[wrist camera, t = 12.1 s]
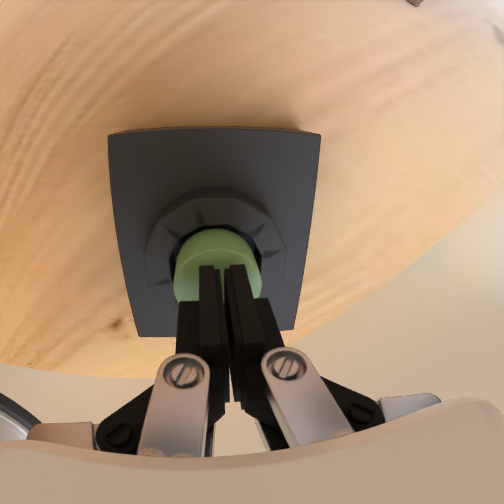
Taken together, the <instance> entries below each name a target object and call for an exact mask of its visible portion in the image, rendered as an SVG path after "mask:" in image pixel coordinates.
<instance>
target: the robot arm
mask: <svg viewBox="0 0 504 504" xmlns="http://www.w3.org/2000/svg"><path fill="white" fill-rule="evenodd" d="M229 367H230V375H231V382H232V388H233V396H234V401H235V402H239V401H240V403H241V409H242V410H245V412H246V413H247V414H249V415H251V416H252V417H254V419H255V424H256V426H257V429H258V431H259V433H260V436H261V439H262V441H263V443H264V446H265V448H266V451H267V452H262V453H254V454H246V455H235V456H220V457H213V454H214V441H215V428H216V427H215V426H216V425H215V423H216V422H217V421H218V420H219V419H220V418H221V417H222V416H223V415H224V414H225V402H230V393H229V392H230V390H229ZM0 504H504V416H503V414H502V413H501V412H500V411H499V410H498V408H496V406H495V405H493V404H492V403H491V402H489V401H487V400H484V399H480V398H459V399H452V400H447V401H444V402H441V400H440V399H439V398H438V397H437V396H435V395H433V394H431V393H422V394H414V395H406V396H398V397H386V398H380V399H379V400H378V401H374V400H372V399H370V398H369V397H366V396H364V395H362V394H359V393H357V392H355V391H352V390H350V389H348V388H346V387H343V386H341V385H339V384H337V383H334V382H332V381H330V380H328V379H326V378H323V377H321V376H320V375H319V374H318V372H317V371H316V369H315V367H314V366H313V364H312V362H311V361H310V359H309V358H308V357H307V356H306V355H305V354H304V353H303V352H301V351H300V350H297V349H294V348H290V347H285V345H284V343H283V340H282V337H281V334H280V331H279V328H278V325H277V322H276V319H275V316H274V313H273V310H272V307H271V304H270V301H269V299H268V298H254V297H253V293H252V289H251V286H250V282H249V278H248V274H247V271H246V267H245V264H234V265H230V267H229V269H224V301H223V293H222V285H221V276H220V269H214V265H203V266H199V301H180V302H179V309H178V321H177V336H176V353H175V355H172V356H170V357H168V358H167V359H165V360H164V361H163V362H162V363H161V365H160V367H159V369H158V372H157V376H156V379H155V383H154V385H152V386H151V387H150V388H148V389H147V390H145V391H144V392H143V393H141V394H140V395H138V396H137V397H136V398H134V399H133V400H132V401H130V402H128V403H127V404H126V405H124V406H123V407H121V408H120V409H118V410H117V411H116V412H114V413H113V414H111V415H110V416H109V417H107V418H106V419H104V420H103V421H102V422H101V423H100V424H92V422H78V423H47V424H45V423H41V424H36V425H35V426H33V427H32V428H31V429H30V430H28V429H27V428H26V427H25V426H24V425H22V424H21V423H20V422H18V421H17V420H16V419H14V418H13V417H11V416H10V415H8V414H7V413H5V412H3V411H2V410H0Z"/></svg>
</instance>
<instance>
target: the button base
mask: <svg viewBox="0 0 504 504" xmlns="http://www.w3.org/2000/svg"><path fill="white" fill-rule="evenodd" d="M320 142H321V135H320V134H316V133H311V132H307V131H302V130H293V129H281V128H266V127H244V126H186V127H164V128H149V129H137V130H127V131H122V132H118V133H114V134H110V135H108V158H109V173H110V185H111V195H112V204H113V212H114V220H115V227H116V234H117V240H118V246H119V252H120V258H121V263H122V268H123V273H124V278H125V283H126V288H127V292H128V297H129V301H130V305H131V309H132V313H133V317H134V321H135V325H136V329H137V332H138V336H139V337H176V336H177V321H178V309H179V303H178V301H177V299H176V297H175V294H174V288H173V283H174V276H175V268H176V261H177V256H178V252H179V250H180V248H181V247H182V245H183V244H184V243H185V241H186V240H187V239H189V238H190V237H191V236H193V235H194V234H196V233H198V232H200V231H203V230H207V229H225V230H229V231H232V232H234V233H236V234H238V235H240V236H241V237H242V238H244V239H245V240H246V242H247V243H248V244H249V246H250V247H251V249H252V252H253V254H254V257H255V260H256V263H257V266H258V269H259V272H260V275H261V279H262V288H261V292H260V295H259V298H268V299H269V301H270V304H271V307H272V310H273V313H274V316H275V319H276V322H277V325H278V328H279V331H285V330H293V329H294V324H295V319H296V314H297V308H298V303H299V297H300V291H301V285H302V280H303V273H304V267H305V261H306V255H307V248H308V241H309V234H310V227H311V220H312V213H313V205H314V197H315V189H316V180H317V172H318V162H319V153H320Z"/></svg>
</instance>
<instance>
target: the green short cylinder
mask: <svg viewBox="0 0 504 504" xmlns="http://www.w3.org/2000/svg"><path fill="white" fill-rule="evenodd" d="M234 264H245V267H246V271H247V274H248V278H249V282H250V286H251V289H252V293H253V297H254V298H259V295H260V292H261V288H262V279H261V275H260V272H259V269H258V266H257V263H256V260H255V257H254V254H253V252H252V249H251V247H250V246H249V244H248V243H247V242H246V240H245V239H244V238H242V237H241V236H240V235H238V234H236V233H234V232H232V231H229V230H225V229H207V230H203V231H200V232H198V233H196V234H194V235H193V236H191V237H190V238H189V239H187V240H186V241H185V243H184V244H183V245H182V247H181V248H180V250H179V252H178V256H177V261H176V268H175V276H174V283H173V288H174V294H175V297H176V299H177V301H178V303H179V302H180V301H199V266H203V265H214V269H220V276H221V285H222V293H223V301H224V269H229V267H230V265H234Z"/></svg>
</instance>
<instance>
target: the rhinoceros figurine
mask: <svg viewBox="0 0 504 504" xmlns="http://www.w3.org/2000/svg"><path fill="white" fill-rule="evenodd" d="M407 1H409V2H411V3H413V4H414V5H415V7H418V6H419V5H420V3H421V2H422V1H423V0H407Z"/></svg>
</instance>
